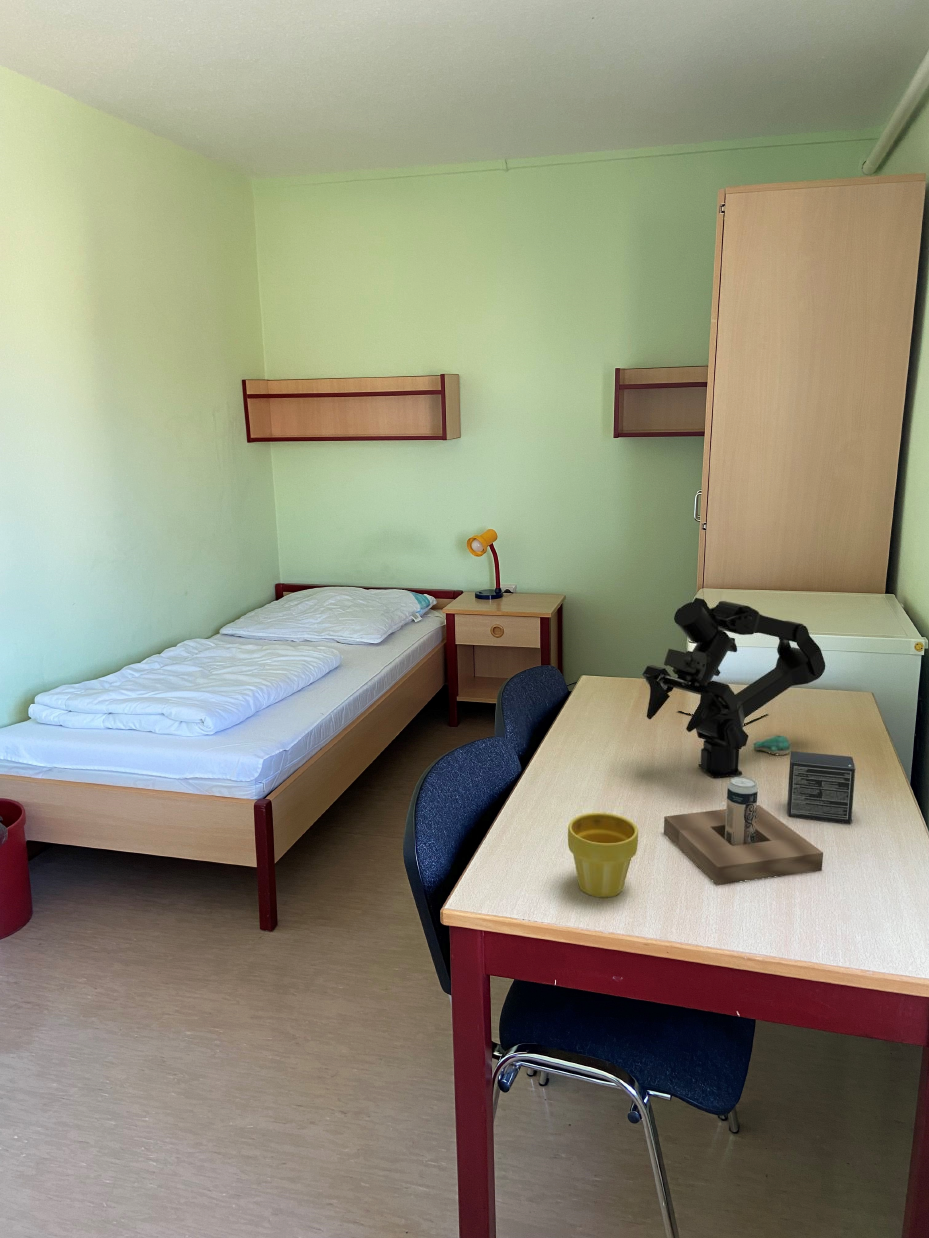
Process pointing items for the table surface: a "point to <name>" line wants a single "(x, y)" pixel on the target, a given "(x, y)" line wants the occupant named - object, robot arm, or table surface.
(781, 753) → the whale figurine
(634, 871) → the table surface
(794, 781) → the small box
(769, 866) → the holder block
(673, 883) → the table surface
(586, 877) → the plant pot
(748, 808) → the beer can
